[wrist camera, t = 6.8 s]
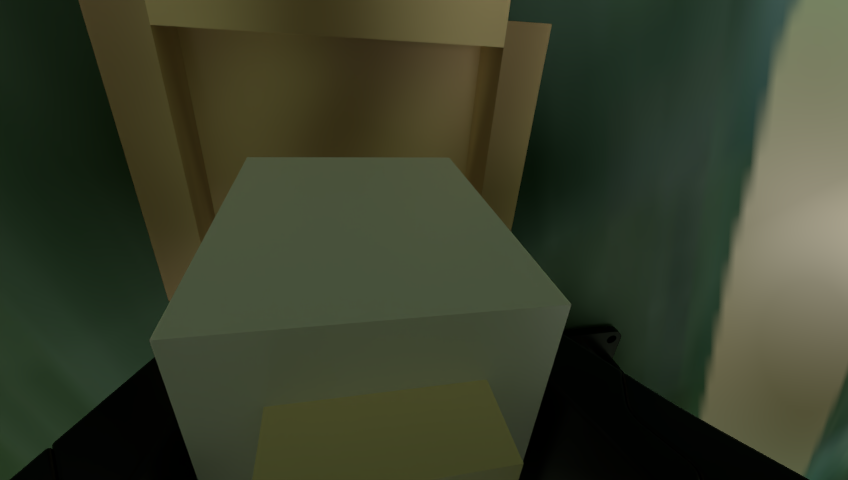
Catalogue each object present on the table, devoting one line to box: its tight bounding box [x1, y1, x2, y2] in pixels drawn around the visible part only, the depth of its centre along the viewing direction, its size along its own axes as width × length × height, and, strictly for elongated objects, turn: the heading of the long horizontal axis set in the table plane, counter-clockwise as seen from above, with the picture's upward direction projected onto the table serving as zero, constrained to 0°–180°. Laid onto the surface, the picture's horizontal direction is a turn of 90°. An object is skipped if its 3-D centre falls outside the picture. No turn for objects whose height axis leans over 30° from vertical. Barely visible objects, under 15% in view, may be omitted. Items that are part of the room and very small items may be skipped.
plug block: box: [149, 157, 571, 480], centre depth 7 cm, size 4×5×6 cm
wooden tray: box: [78, 0, 552, 302], centre depth 13 cm, size 10×11×2 cm
